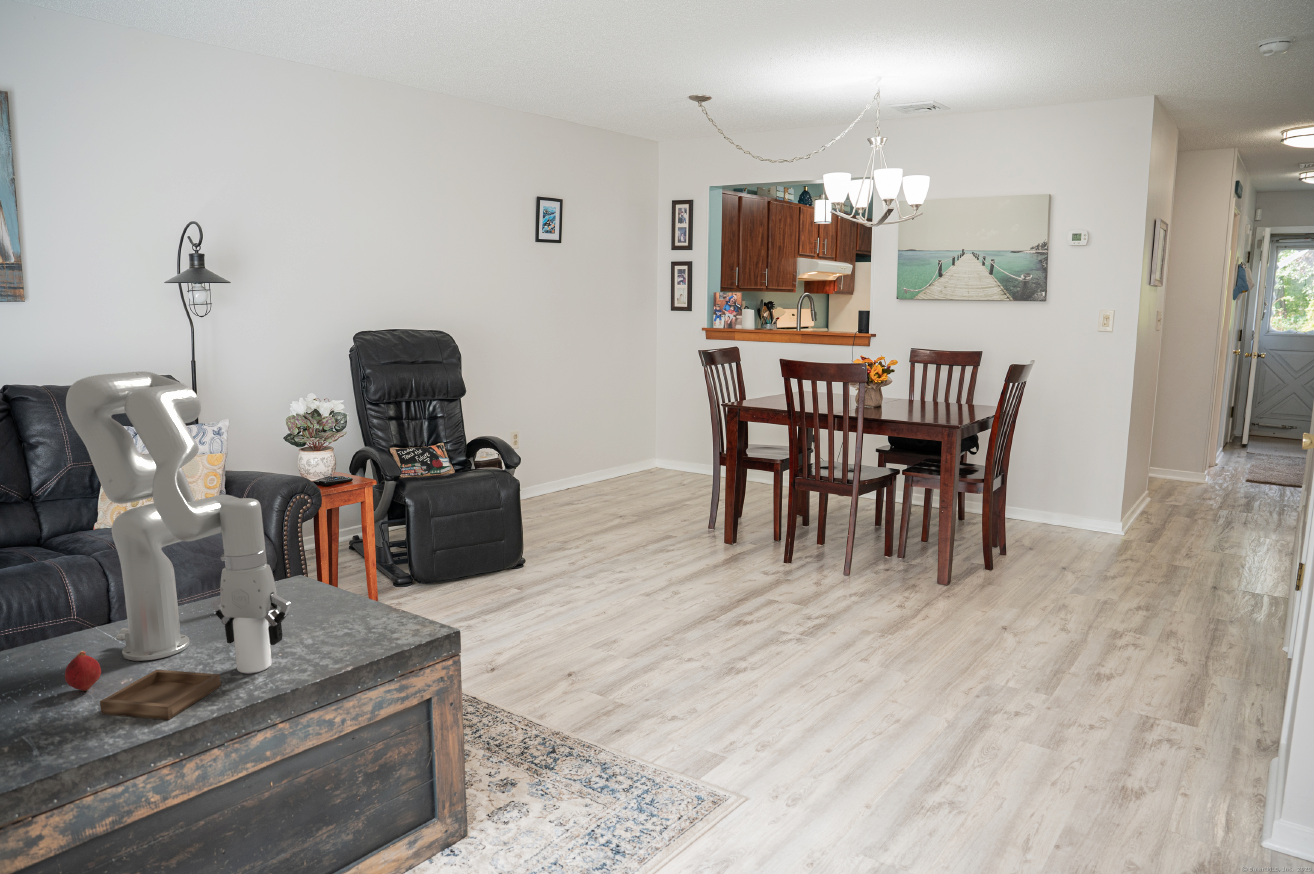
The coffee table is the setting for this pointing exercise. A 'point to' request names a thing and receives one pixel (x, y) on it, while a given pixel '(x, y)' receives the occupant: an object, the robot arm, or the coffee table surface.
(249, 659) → the can
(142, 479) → the robot arm
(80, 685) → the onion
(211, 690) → the tray
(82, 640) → the coffee table surface
